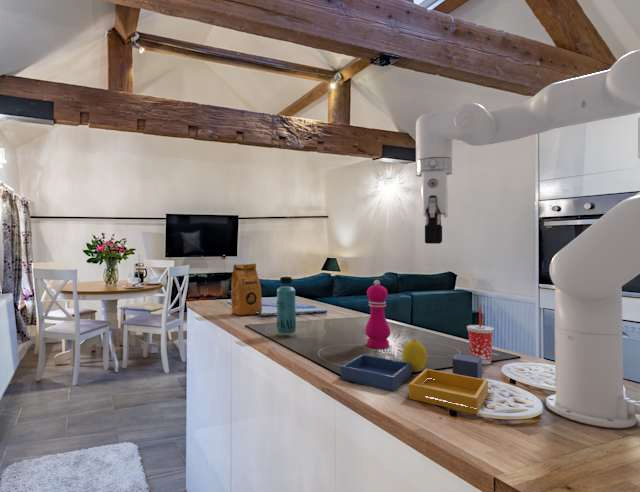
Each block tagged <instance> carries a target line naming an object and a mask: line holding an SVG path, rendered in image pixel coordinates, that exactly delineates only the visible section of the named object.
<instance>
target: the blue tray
mask: <svg viewBox="0 0 640 492" xmlns="http://www.w3.org/2000/svg"><path fill="white" fill-rule="evenodd" d="M411 377H412V370H411V363H407V362H403V360H402V361H401V360H394V359H391V358H384V357H380V356H373V355H368V354H363V353H361V354H360V355H358V356H356V357H355V358H352V359H351V360H349V361H347V362H346V363H344V364H343V365H341V366H340V379H341V380H343V381H348V382H352V383H357V384H361V385H366V386H370V387H374V388H378V389H383V390H387V391H391V392H394V391H396V390H397V389H398V388H400V386H402V384H404V383H405V382H406V381H407V380H408V379H410V378H411Z"/></svg>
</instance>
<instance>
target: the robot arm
mask: <svg viewBox="0 0 640 492" xmlns="http://www.w3.org/2000/svg"><path fill="white" fill-rule="evenodd" d="M639 113H640V49H637V50H633V51H630V52H628V53H627V54H625V55H623V56H621V57H619V59H617V60H616V61H615V62H614V63H613V64H612V65H611V66H610V68H609V69H607V70H603V71H599V72H595V73H591V74H587V75H582V76H579V77H574V78H569V79H565V80H562V81H561V80H560V81H558V82H557V81H556V82H553V83H550V84H549V85H547V86H545V87H543V88H542V89H541V90H539V91H538V92H537V93H536V94H535V95H533V96H532V97H530V98H529V99H526V100H525V101H523V102H522V101H521V102H520V103H518V104H515V105H511V106H508V107H503V108H499V109H495V110H490V111H489V110H487V109H486V108H485V107H484V106H482V105H481V104H479V103H475V102H466V103H463V104H459V105H456V106H454V107H451V108H448V109H446V110H442V111H432V112H428V113H425V114H422V115H420V116H418V118H417V119H416V121H415V176H416V177H419V178H421V206H422V215H423V217H425V225H424V243H425V244H428V245H429V244H430V245H431V244H432V245H434V244H435V245H436V244H437V245H439V244H441V243H442V242H443V225H442V216H443V217H444V218H447V217H448V216H449V214H448V213H449V211H448V210H449V203H448V201H449V189H448V187H449V185H448V176H451V175H452V174H453V141H454V140H456V141H461V142H463V143H465V144H467V145H468V146H473V147H480V146H481V147H482V146H487V145H488V146H489V145H494V144H500V143H505V142H510V141H515V140H520V139H524V138H528V137H531V136H535V135H539V134H543V133H545V132H548V131H551V130H555V129H560V128H565V127H569V126H576V125H581V124H586V123H587V124H588V123H591V122H598V121H603V120H609V119H614V118H619V117H625V116H630V115H634V114H639ZM638 275H640V191H639V192H637V193H636V194H634V195H633V196H630V197H628V198H625V199H623V200H622V201H620V202H618V203H616V204H615V205H614V206H613V207H612V208H610V209H609V210H608V211H607V212H605V213H604V214H603V215H602V216H601V217H599V218H598V219H597V220H596V221H594V222H593V223H592V224H590V226H588V227H587V228H586V229H585V230H584V231H582V232H581V233H580V234H579V235H577V236H576V237H575V238H573V239H572V240H571V241H570V242H569V243H568V244H567V245H565V246H564V247H563V248H561V249H560V250H559V251H557V252H556V253H555V255H554V256H553V257H552V259H551V261H550V264H549V277H550V280H551V282H552V284H553V285H554V365H555V366H554V367H555V368H554V373H555V374H554V375H555V377H554V378H555V393H554V394H550V395H549V396H547V397H546V398H545V406H546V407H547V408H548V409H549V410H550V411H552V412H553V413H555V414H557V415H558V416H561V417H563V418H566V419H567V420H570V421H575V422H579V423H582V424H585V425H589V426H594V427H601V428H608V429H609V428H610V429H611V428H612V429H627V428H630V427H634V426H635V425H636V423H637V417H636V415H640V400H634V399H631V397H627V394H626V391H625V390H624V361H623V359H624V358H623V356H624V355H623V354H624V351H623V350H624V349H623V332H624V331H623V290H622V289H623V286H625V285H626V284H627V283H629V282H630V281H632V280H633V279H635V278H636V277H637V276H638Z"/></svg>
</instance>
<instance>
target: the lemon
mask: <svg viewBox="0 0 640 492" xmlns="http://www.w3.org/2000/svg"><path fill="white" fill-rule="evenodd" d="M401 356H402V362H407V363H411V372H413V373H417V372H419V371H422V370H423V369H424V368H425V367H426V365H427V362H428V353H427V350H426V347H425V346H424V345H423V343H422V342H419V341H417V339H412V340H409V341H407V342H406V343H405V344H404V345H403V349H402V354H401Z"/></svg>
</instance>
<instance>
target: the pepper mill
mask: <svg viewBox="0 0 640 492" xmlns="http://www.w3.org/2000/svg"><path fill="white" fill-rule="evenodd" d="M366 296H367V299H368V306H369V308H370V315H369V318H368V320H367V322H366V325H365V329H364V333H365V335H366V336H367V337H368V338H367V339H366V344H367V347H369V348H373V349H379V350H381V349H387V348H389V347H390V341H389V339H388V338H389V337H390V336H391V328H390V325H389V323H388V321H387V318H386V315H385V307H387V301H386V299H387V298H388V289H387V288H386V287H384V286H383V285H381V282H380V280H379V279H375V280H374V281H373V285H371V286H369V287H368V288H367V290H366Z"/></svg>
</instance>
